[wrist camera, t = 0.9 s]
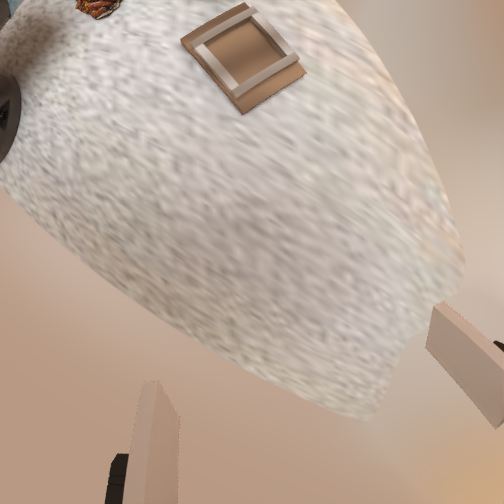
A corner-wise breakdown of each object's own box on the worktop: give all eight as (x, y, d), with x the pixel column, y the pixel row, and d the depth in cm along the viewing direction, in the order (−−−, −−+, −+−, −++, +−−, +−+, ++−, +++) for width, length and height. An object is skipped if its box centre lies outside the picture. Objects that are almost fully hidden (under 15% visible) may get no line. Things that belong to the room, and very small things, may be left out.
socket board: (181, 43, 26) (178, 34, 23) (243, 7, 25) (245, -4, 22) (242, 114, 30) (245, 111, 27) (303, 75, 29) (311, 69, 26)
